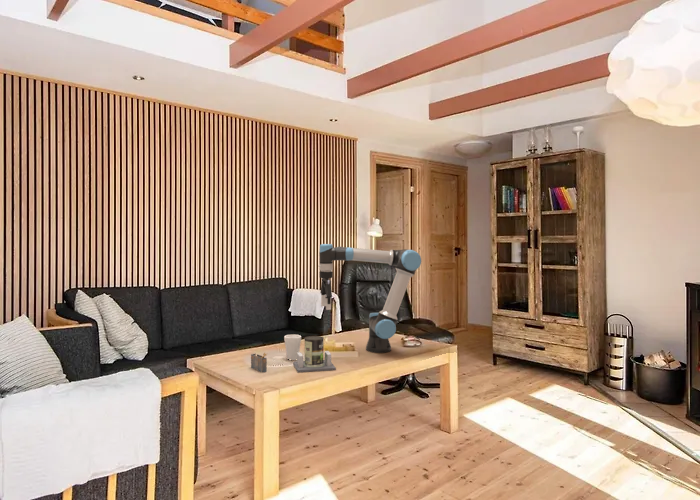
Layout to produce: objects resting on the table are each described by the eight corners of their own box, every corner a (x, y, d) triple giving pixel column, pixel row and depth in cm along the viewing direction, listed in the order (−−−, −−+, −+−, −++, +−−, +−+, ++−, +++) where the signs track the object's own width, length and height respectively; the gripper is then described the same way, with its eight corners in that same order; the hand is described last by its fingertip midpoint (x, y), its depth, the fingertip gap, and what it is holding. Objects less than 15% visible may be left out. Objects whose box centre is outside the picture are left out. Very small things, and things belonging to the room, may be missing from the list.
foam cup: (286, 356, 277) (286, 334, 276) (302, 357, 276) (302, 334, 275) (282, 361, 267) (282, 337, 267) (298, 361, 266) (299, 338, 266)
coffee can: (325, 362, 260) (325, 336, 259) (320, 367, 250) (320, 340, 249) (307, 360, 262) (307, 335, 262) (301, 365, 252) (301, 339, 252)
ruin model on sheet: (267, 372, 247) (267, 353, 247) (262, 373, 245) (262, 354, 245) (256, 367, 255) (256, 349, 255) (251, 368, 253) (251, 350, 253)
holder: (329, 361, 266) (329, 348, 266) (335, 370, 250) (335, 356, 250) (293, 363, 262) (293, 350, 261) (297, 372, 245) (297, 358, 245)
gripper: (315, 269, 285) (315, 305, 286) (324, 272, 261) (324, 311, 262) (327, 269, 287) (327, 304, 288) (337, 272, 263) (337, 311, 264)
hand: (326, 308), depth 275 cm, fingers open, 13 cm apart
